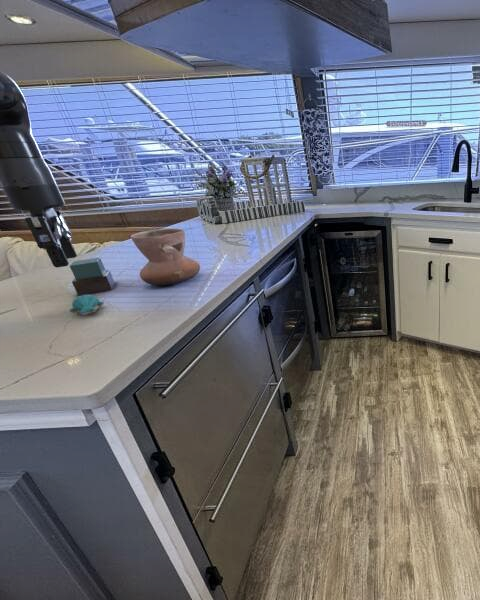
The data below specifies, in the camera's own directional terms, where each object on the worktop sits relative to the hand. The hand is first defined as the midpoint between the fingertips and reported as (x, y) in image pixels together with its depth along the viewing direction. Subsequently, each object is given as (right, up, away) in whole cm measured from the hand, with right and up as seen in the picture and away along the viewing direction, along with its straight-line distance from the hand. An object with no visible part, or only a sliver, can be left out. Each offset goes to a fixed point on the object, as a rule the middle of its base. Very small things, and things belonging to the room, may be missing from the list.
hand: (66, 262), depth 70 cm
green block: (-12, -2, +18) cm, 21 cm away
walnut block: (-12, -5, +19) cm, 23 cm away
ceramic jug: (+7, -3, +24) cm, 25 cm away
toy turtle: (+1, -11, +5) cm, 12 cm away
